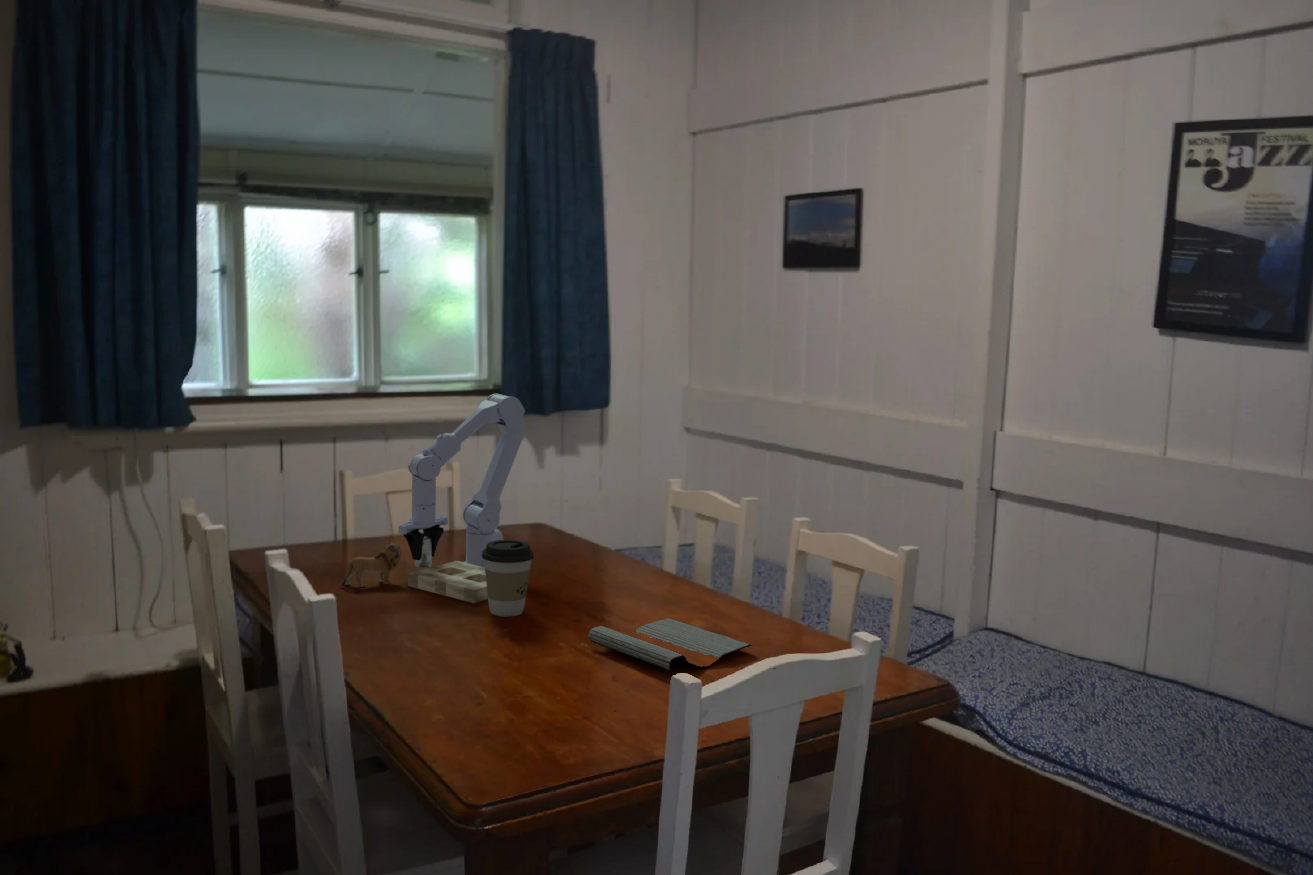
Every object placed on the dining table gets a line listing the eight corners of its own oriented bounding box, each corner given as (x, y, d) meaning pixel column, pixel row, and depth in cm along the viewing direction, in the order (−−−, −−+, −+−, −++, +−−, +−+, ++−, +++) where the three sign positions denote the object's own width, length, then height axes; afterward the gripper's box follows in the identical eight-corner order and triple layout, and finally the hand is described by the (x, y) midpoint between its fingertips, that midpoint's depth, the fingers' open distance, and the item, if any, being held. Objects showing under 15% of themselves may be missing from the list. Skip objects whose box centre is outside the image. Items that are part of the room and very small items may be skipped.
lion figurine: (395, 577, 242) (396, 540, 241) (405, 582, 238) (405, 545, 237) (336, 585, 233) (336, 547, 232) (345, 591, 229) (345, 552, 228)
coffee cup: (522, 622, 212) (524, 552, 210) (471, 616, 214) (473, 548, 213) (539, 606, 223) (541, 541, 221) (491, 601, 226) (492, 536, 224)
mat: (753, 656, 199) (754, 633, 198) (668, 683, 182) (669, 658, 182) (671, 626, 215) (672, 605, 214) (586, 649, 199) (587, 626, 198)
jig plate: (456, 572, 249) (456, 560, 248) (521, 588, 237) (521, 575, 237) (407, 585, 235) (408, 573, 235) (474, 603, 224) (474, 590, 224)
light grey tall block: (423, 562, 251) (423, 535, 250) (435, 565, 248) (435, 537, 247) (411, 565, 247) (411, 537, 246) (423, 568, 245) (423, 540, 244)
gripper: (433, 497, 254) (433, 549, 256) (389, 505, 242) (389, 560, 244) (454, 501, 250) (453, 554, 252) (410, 509, 238) (410, 565, 240)
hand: (423, 557), depth 248 cm, fingers closed on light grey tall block, 4 cm apart
